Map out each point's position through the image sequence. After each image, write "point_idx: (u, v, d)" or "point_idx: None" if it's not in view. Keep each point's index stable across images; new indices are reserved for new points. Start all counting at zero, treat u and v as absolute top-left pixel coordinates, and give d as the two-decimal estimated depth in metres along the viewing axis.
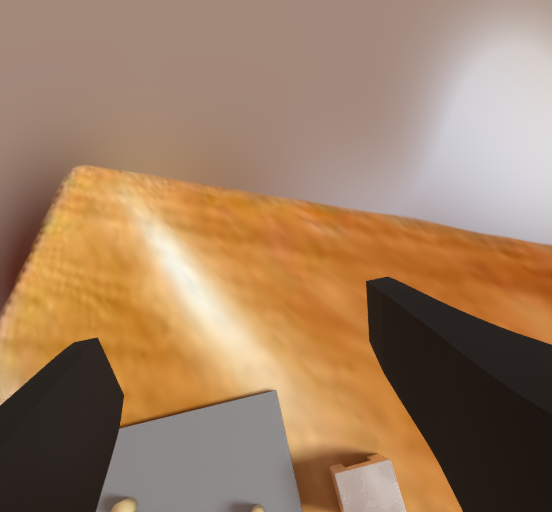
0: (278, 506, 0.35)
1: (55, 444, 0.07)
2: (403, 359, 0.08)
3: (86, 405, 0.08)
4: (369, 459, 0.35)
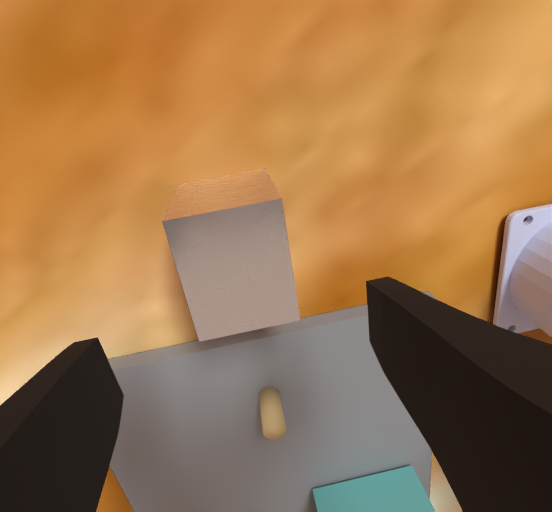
0: (263, 369, 0.20)
1: (55, 444, 0.07)
2: (403, 359, 0.08)
3: (86, 405, 0.08)
4: None
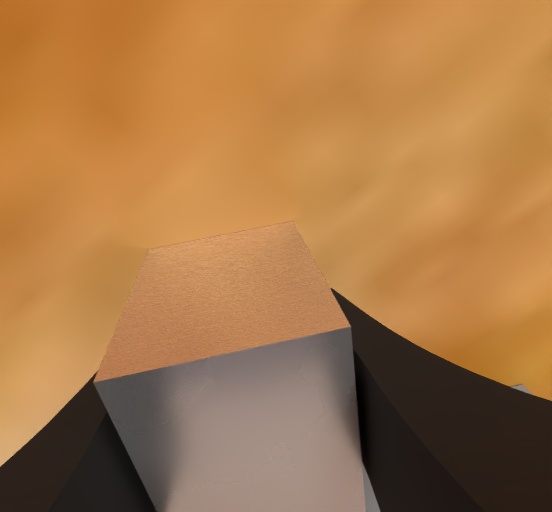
0: None
1: None
2: None
3: None
4: None
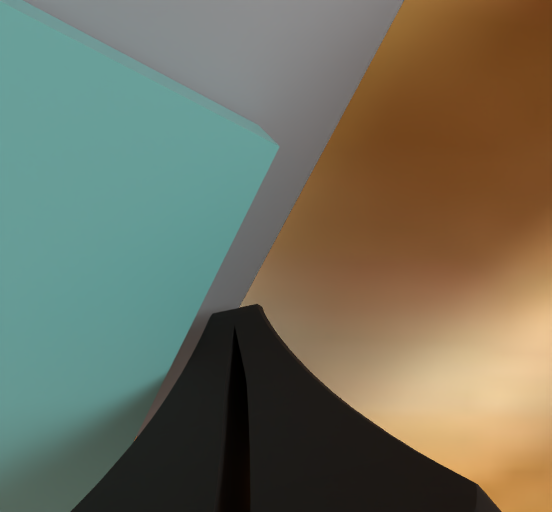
0: None
1: (237, 403, 0.07)
2: None
3: (242, 371, 0.08)
4: None
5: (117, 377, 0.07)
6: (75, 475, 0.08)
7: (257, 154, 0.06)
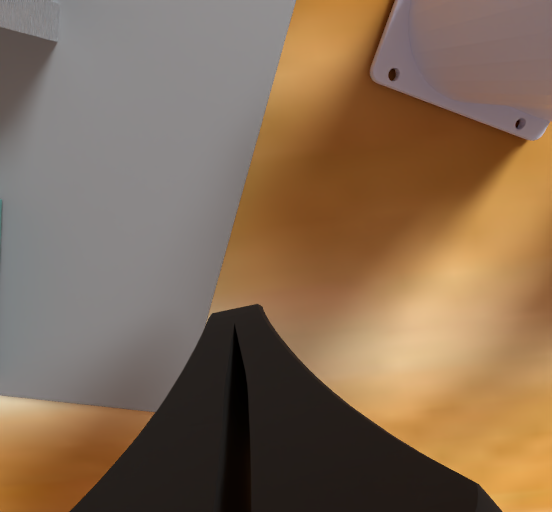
0: None
1: (237, 403, 0.07)
2: None
3: (241, 371, 0.08)
4: None
5: None
6: None
7: None
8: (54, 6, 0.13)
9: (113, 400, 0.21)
